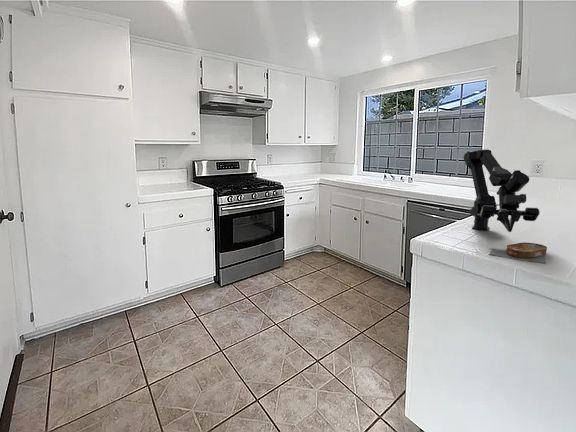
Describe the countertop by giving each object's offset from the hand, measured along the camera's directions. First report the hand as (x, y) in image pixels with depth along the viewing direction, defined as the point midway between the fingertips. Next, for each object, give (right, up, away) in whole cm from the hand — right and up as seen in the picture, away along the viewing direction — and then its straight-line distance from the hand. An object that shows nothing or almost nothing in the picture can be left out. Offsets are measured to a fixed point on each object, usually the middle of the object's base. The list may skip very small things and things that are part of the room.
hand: (510, 231), depth 124 cm
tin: (-1, -6, -4) cm, 7 cm away
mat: (-4, -8, -9) cm, 13 cm away
